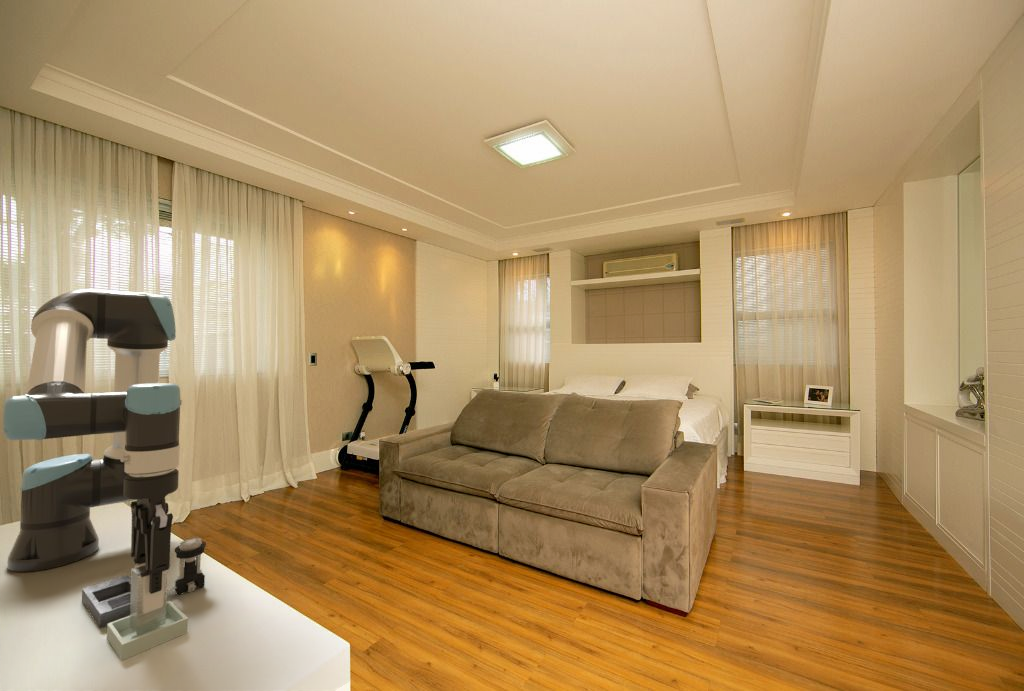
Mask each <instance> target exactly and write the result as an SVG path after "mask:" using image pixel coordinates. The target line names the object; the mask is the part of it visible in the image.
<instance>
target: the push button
mask: <svg viewBox="0 0 1024 691" xmlns="http://www.w3.org/2000/svg"><path fill="white" fill-rule="evenodd" d="M206 546H207V542H205V541H203V540H202V539H201V538H200V537H192V538H187V539H184V540H182V541H181V542H180V543H179V545H177V546H176V547H175V548H174V553H175V555H176V558H177V559H179V568H178V569H179V571H178V576H177V578H175V579H174V580H175V581H174V586H172V587H169V588H167V589H166V597H167V596H170V595H174V594H176V595H177V596H180V595H183V594H186V593H191V592H194V591H195V590H199V589H202V588H204V587H205V579H206V577H205V576H206V575H205V574H204V573H203V571H202V568H201V560H202V557H201V556H202V554H203V553H205V548H206ZM171 590H173V591H171ZM168 591H170V592H168ZM167 592H168V593H167ZM182 593H183V594H182Z"/></svg>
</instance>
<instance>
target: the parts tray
mask: <svg viewBox="0 0 1024 691" xmlns="http://www.w3.org/2000/svg"><path fill="white" fill-rule="evenodd" d="M188 624H189V617H188V616H186V615H185V614H184V612H182V611H181V610H180V608H178V606H176V605H175V604H174V603H173V602H172V601H171V600H168V601H166V624H164V625H161V626H159V627H156V628H154V629H151V630H149V631H146V632H144V633H141V634H139V635H136V634H135V632H134V631H133V630H132V629H131V627H130V616H127V617H124V618H122V619H119V620H116V621H114V622H111V623H108V624H107V626H106V640H107V641H108V642H109V644H110V645H111V647H112V648H113V650H114V652H115V653H116V654H117V655H118V657H119V659H120V660H121V661H124V660H126V659H128V658H131V657H133V656H135V655H138V654H140V653H142V652H145V651H147V650H149V649H151V648H154V647H156V646H159V645H161V644H163V643H166V642H168V641H171V640H172V639H176V638H177V637H180V636H182V635H185V634H186V633H189V632H188V630H189V629H188V628H189V625H188Z"/></svg>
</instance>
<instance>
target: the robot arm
mask: <svg viewBox="0 0 1024 691" xmlns="http://www.w3.org/2000/svg"><path fill="white" fill-rule="evenodd" d="M30 331H31V334H32V335H33V336H34V338H35V342H34V346H33V352H32V358H31V365H30V369H29V376H28V381H27V387H26V390H25V391H26V392H25V394H23V395H22V394H21V395H15V396H10V397H8V398H7V399H6V400H5V402H4V406H3V412H2V431H3V435H4V437H5V439H6V440H9V441H26V440H27V441H29V440H31V441H32V440H36V441H42V440H48V439H59V438H70V437H82V436H90V435H102V434H103V435H105V434H112V436H111V437H112V439H111V440H112V444H111V445H110V446H109V447H107V448H106V449H104V451H103V457H102V458H94V459H93V456H92V454H90V453H79V454H78V453H77V454H71V455H64V456H59V457H55V458H50V459H47V460H44V461H41V462H37V463H34V464H33V465H30V466H29V467H27V468H25V470H24V471H23V473H22V476H21V477H22V478H21V486H20V488H19V490H20V491H21V499H20V501H21V502H20V520H19V521H20V523H19V525H20V526H19V533H18V535H17V536H16V539H15V542H14V543H13V546H12V548H11V549H10V552H9V554H8V556H7V569H8V570H9V571H11V572H17V573H18V572H19V573H26V572H29V573H30V572H36V571H43V570H48V569H53V568H58V567H61V566H65V565H68V564H72V563H76V562H77V561H80V560H82V559H85V558H88V556H91V555H93V554H95V552H97V550H99V547H100V546H99V543H100V541H99V540H100V538H99V536H98V533H97V531H96V529H95V527H94V525H93V522H92V520H91V516H90V515H91V508H95V507H101V506H102V507H103V506H107V505H115V504H119V503H120V504H121V503H125V502H130V506H129V507H130V509H131V539H130V542H131V543H130V544H131V546H130V548H131V549H130V550H131V552H130V557H131V558H132V559H133V563H134V564H135V565H134V568H136V567H139V566H143V565H146V572H143V573H140V574H141V577H143V610H142V612H143V613H144V614H145V613H147V612H150V611H153V610H155V609H158V608H161V607H163V598H164V571H165V570H167V571H168V570H170V567H171V563H170V562H171V560H170V559H171V542H172V541H171V536H172V524H173V518H174V515H173V513H172V512H171V513H169V510H170V509H169V504H168V502H167V501H166V496H169V494H172V493H174V492H176V491H177V490H178V488H179V475H180V474H179V470H178V469H177V468H178V467H179V466H180V452H181V451H180V446H181V445H180V419H181V418H180V417H181V406H182V400H181V388H180V385H178V384H176V383H169V382H159V378H160V377H159V376H160V357H161V356H160V355H161V353H162V352H164V351H165V350H166V349H168V344H169V341H170V342H171V341H175V339H176V332H177V331H176V320H175V314H174V309H173V304H172V302H171V299H170V298H169V297H167V296H166V295H162V294H155V293H150V292H149V293H148V292H139V291H138V292H137V291H136V292H135V291H121V290H105V289H104V290H103V289H97V288H85V289H83V288H82V289H76V290H71V291H68V292H65V293H62V294H59V295H58V296H56V297H53V298H51V299H50V300H48V301H46V302H45V303H44V304H42V305H41V306H40V307H39V308H38V309H37V311H35V313H34V314H33V317H32V319H31V323H30ZM90 339H104V340H106V341H107V342H106V343H107V344H106V345H107V347H108V348H109V349H110V350H112V352H114V354H115V356H114V358H115V359H114V361H115V362H114V384H113V385H114V387H113V391H111V392H109V391H108V392H86V374H87V373H86V371H87V370H86V369H87V348H88V346H87V345H88V343H87V342H88V341H89V340H90Z"/></svg>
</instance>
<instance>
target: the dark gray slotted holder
mask: <svg viewBox="0 0 1024 691" xmlns="http://www.w3.org/2000/svg"><path fill="white" fill-rule="evenodd" d="M81 589H82V590H81V603H82V604H83V603H84V604H83V605H84V607H85V606H86V607H85V608H86V610H87V609H88V610H89V611H88V610H87V611H88V613H89V612H90V613H91V614H90V613H89V614H90V616H91V615H92V616H93V617H92V616H91V617H92V619H93V618H94V619H93V620H94V621H96V622H95V623H96V625H97V626H98V627H99V629H102V628H105V627H107V624H108V623H111V622H114V621H116V620H119V619H122V618H124V617H127V616H130V597H131V575H129V574H125V575H122V576H119V577H115V578H112V579H110V580H107V581H106V580H105V581H102V582H100V583H96V584H93V585H90V586H86V587H84V588H81Z"/></svg>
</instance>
